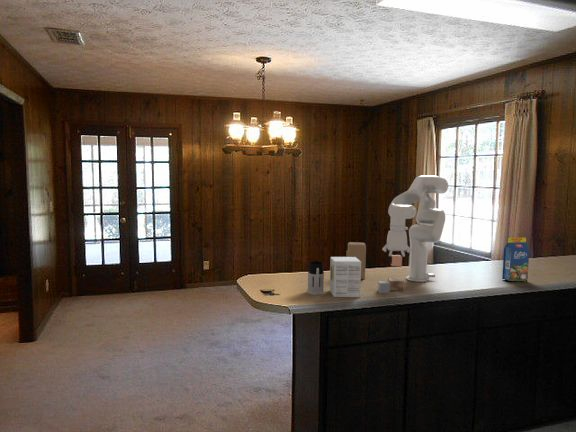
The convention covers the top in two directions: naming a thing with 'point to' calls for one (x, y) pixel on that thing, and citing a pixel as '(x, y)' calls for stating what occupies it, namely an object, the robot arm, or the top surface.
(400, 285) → the walnut base block
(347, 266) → the supplement box
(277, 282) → the top surface
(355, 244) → the block
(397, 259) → the terracotta cube
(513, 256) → the blue food package
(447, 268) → the top surface
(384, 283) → the slate grey cube
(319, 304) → the top surface
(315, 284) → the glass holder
